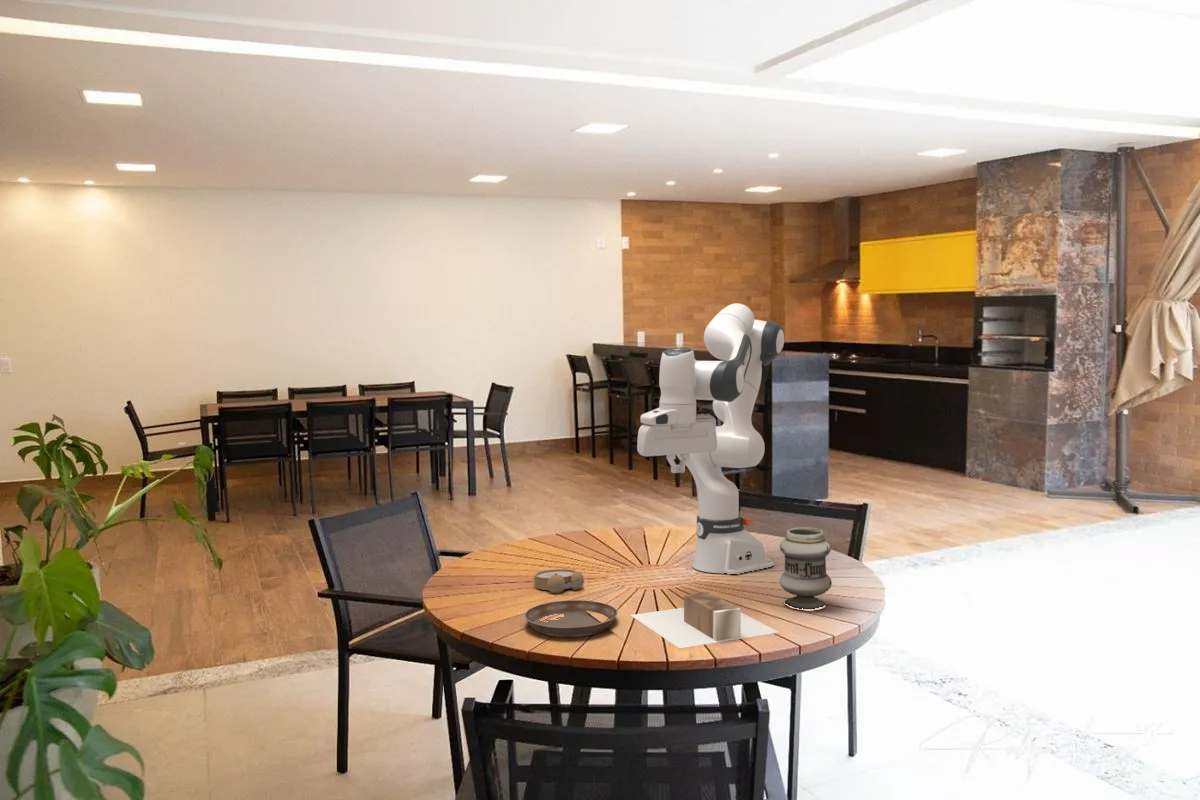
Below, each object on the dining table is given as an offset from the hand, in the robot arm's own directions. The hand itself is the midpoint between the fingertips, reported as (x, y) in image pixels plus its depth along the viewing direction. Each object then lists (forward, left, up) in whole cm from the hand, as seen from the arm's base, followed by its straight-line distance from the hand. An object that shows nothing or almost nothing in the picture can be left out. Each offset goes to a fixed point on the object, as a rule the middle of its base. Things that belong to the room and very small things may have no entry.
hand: (677, 472), depth 223 cm
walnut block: (+5, +18, -27) cm, 33 cm away
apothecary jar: (-25, +17, -31) cm, 44 cm away
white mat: (+5, +21, -31) cm, 38 cm away
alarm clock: (+23, -22, -32) cm, 45 cm away
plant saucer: (+31, +8, -32) cm, 45 cm away
